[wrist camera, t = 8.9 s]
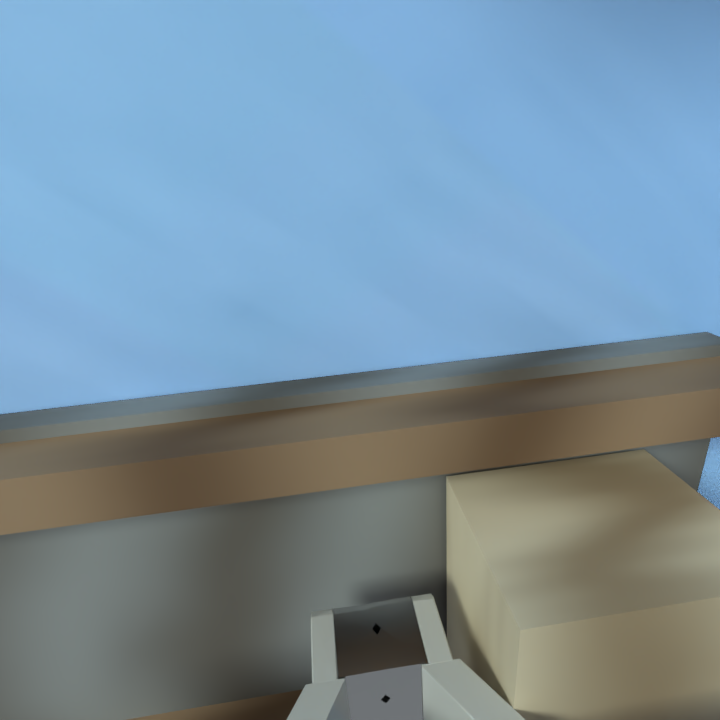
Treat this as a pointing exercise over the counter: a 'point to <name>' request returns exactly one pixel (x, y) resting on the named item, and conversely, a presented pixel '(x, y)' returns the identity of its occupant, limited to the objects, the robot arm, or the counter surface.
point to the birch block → (587, 588)
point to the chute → (284, 514)
